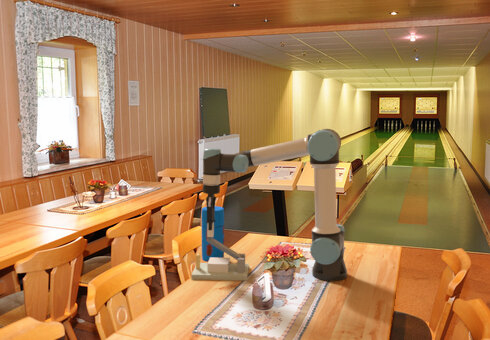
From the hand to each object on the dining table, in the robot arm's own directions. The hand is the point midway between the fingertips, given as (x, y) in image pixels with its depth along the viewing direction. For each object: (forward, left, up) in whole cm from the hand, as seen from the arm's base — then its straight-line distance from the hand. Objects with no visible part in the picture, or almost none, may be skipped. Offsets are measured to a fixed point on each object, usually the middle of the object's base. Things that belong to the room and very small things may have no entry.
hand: (210, 236), depth 214 cm
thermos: (+1, -20, -17) cm, 26 cm away
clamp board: (-5, 0, -17) cm, 17 cm away
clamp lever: (-6, 0, -7) cm, 9 cm away
